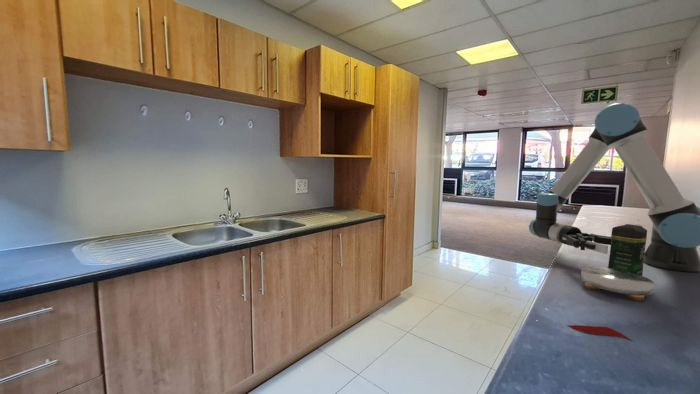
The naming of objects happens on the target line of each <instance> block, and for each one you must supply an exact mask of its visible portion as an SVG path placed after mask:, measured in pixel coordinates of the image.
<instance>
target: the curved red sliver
mask: <svg viewBox="0 0 700 394" xmlns="http://www.w3.org/2000/svg"><path fill="white" fill-rule="evenodd" d="M566 326H567V327H569V328H572V330H575V331H577V332H580V333H585V334H589V335H590V334H591V335H598V336H599V335H601V336H610V337H617V338H624V339H626V340H629V341H631V342H633V339H631V338H629V337H628V336H626V335H624V334H623V333H622V332H619V331H617V330H616V329H613V328H611V327H607V326H601V325H600V326H595V325H594V326H593V325H579V324H576V325H574V324H573V325H566Z"/></svg>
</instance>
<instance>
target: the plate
mask: <svg viewBox="0 0 700 394" xmlns="http://www.w3.org/2000/svg"><path fill="white" fill-rule="evenodd" d="M580 279H581V281H583V282H584V288H586V289H589V290H590V291H592V290H593V291H600V289H601V290H605V291H607V292H612V293H617V294H623V295H626V296H625V297H626V298H628V299H630V300H632V301H637V302H644V301H645V296H649V295H653V294H654V288H655V287H654V286H655V284H654V283H655V282H654V281H653V280H651V279H650V278H648V277H646V276H644V275H642V276H641V275H638V274H634V273H631V272H627V271H622V270H617V269H611V268H608V267H601V266H587V267H583V268H582V269H581V274H580Z"/></svg>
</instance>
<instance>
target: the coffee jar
mask: <svg viewBox="0 0 700 394" xmlns="http://www.w3.org/2000/svg"><path fill="white" fill-rule="evenodd" d="M647 235H648V230H647V229H646V228H644V227H643V226H642V225H638V224H631V223H630V224H629V223H626V224H622V225H617V226H614V227H612V229H611V236H610V237H611V245H610V247H609V248H610V249H609V259H608V265H607V268H611V269H617V270H622V271H627V272H631V273H634V274H638V275H641V276H643V271H644V263H645V262H644V253H645V251H646V243H647V237H648V236H647Z"/></svg>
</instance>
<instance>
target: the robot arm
mask: <svg viewBox="0 0 700 394" xmlns="http://www.w3.org/2000/svg"><path fill="white" fill-rule="evenodd" d="M640 115H641V114H640V112H639V110H638V109H637V108H636V107H635V106H633V105H632V104H630V103H629V104H628V103H625V102H624V103H622V102H618V103H612V104H609V105H607V106H606V107H604V108H603V109H601V110H600V111H599V112H598V114H596V116H595V119H594V129H593V131H592V132H591V134H590V135H589V137H588V142H587V143H586V144H585V146H584V147H583V148H582V150H581V151H580V152H579V153H578V155H577V156H576V157H575V158H574V159H573V161H572V163H571V164H570V165H569V166H568V168H567V169H566V170H565V171H564V173H563V174H562V175H561V176H560V178H559V179H558V181H557V182H556V183H555V184H554V185H553V187H552V188H551V189H550V190H549V191H548V192H542V193H541V192H540V193H538V194H537V195H536V196H537V197H536V207H535V208H536V211H535V219H533V220H532V221H530V223H529V224H528V229H529V232H530V233H531V235H533V236H536V237H538V238H541V239H545V240H549V241H552V242H556V243H557V244H563V245H567V246H571V247H574V248H575V249H579V248H580V251H586V250H589V251H593V252H596V253H600V254H603V255H604V254H605V255H608V251H609V246H611V236H608V235H602V234H595V233H588V232H582V231H581V229H580V228H579V227H576V226H572V225H567V224H563V223H557V220H558V219H557V218H558V212H559V211H560V210H561V209H562V208H563V206H564V204H566V202H567V200H569V198H570V197H571V196H572V195H573V193H574V192H575V191H576V190H577V189H578V188H579V186H580V185H581V184H582V182H584V180H585V179H586V178H587V176H589V174H590V173H591V172H592V171H593V169H594V168H595V167H596V166H597V164H598V163H599V162H600V161H601V159H602V158H603V157H604V156H605V155H606V153H608V151H609V150H611V149H614V150H615V151H616V154H617V155H618V156H619V158H620V160H621V162H622V163H623V165H624V166H625V168H626V170H627V171H628V173H629V175H630V177H631V178H632V180H633V182H634V183H635V185H636V186H637V188H638V190H639V191H640V193H641V195H642V196H643V198H644V199H645V201H646V204H648V207H649V209H648V211H647V216H648V217H649V219H650V221H651V222H652V229H651V235H650V236H651V238H650V243H649V245H648V246H647V249H645V253H644V262H643V263H645V264H646V265H649V264H650V266H653V267H657V268H661V269H666V270H672V271H678V272H688V273H700V256H699V252H698V249H697V247H699V246H700V207H699V206H697V205H696V204H695V202H694V201H693V200H691V199H690V200H689V199H687V198H685V197H684V196H683V195H682V193H681V192H680V191H679V189H678V187H677V186H676V184H675V183H674V181H673V179H672V177H671V176H670V175H669V173H668V171H667V169H666V168H665V167H664V165H663V163H662V162H661V160H660V158H659V157H658V155H657V154H656V152H655V151H654V149H653V147H652V146H651V144H650V143H649V141H648V139H647V138H646V135H647V133H648V129H647V127H646V125H645V124H644V122H643V120H642V119H641V117H640Z"/></svg>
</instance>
